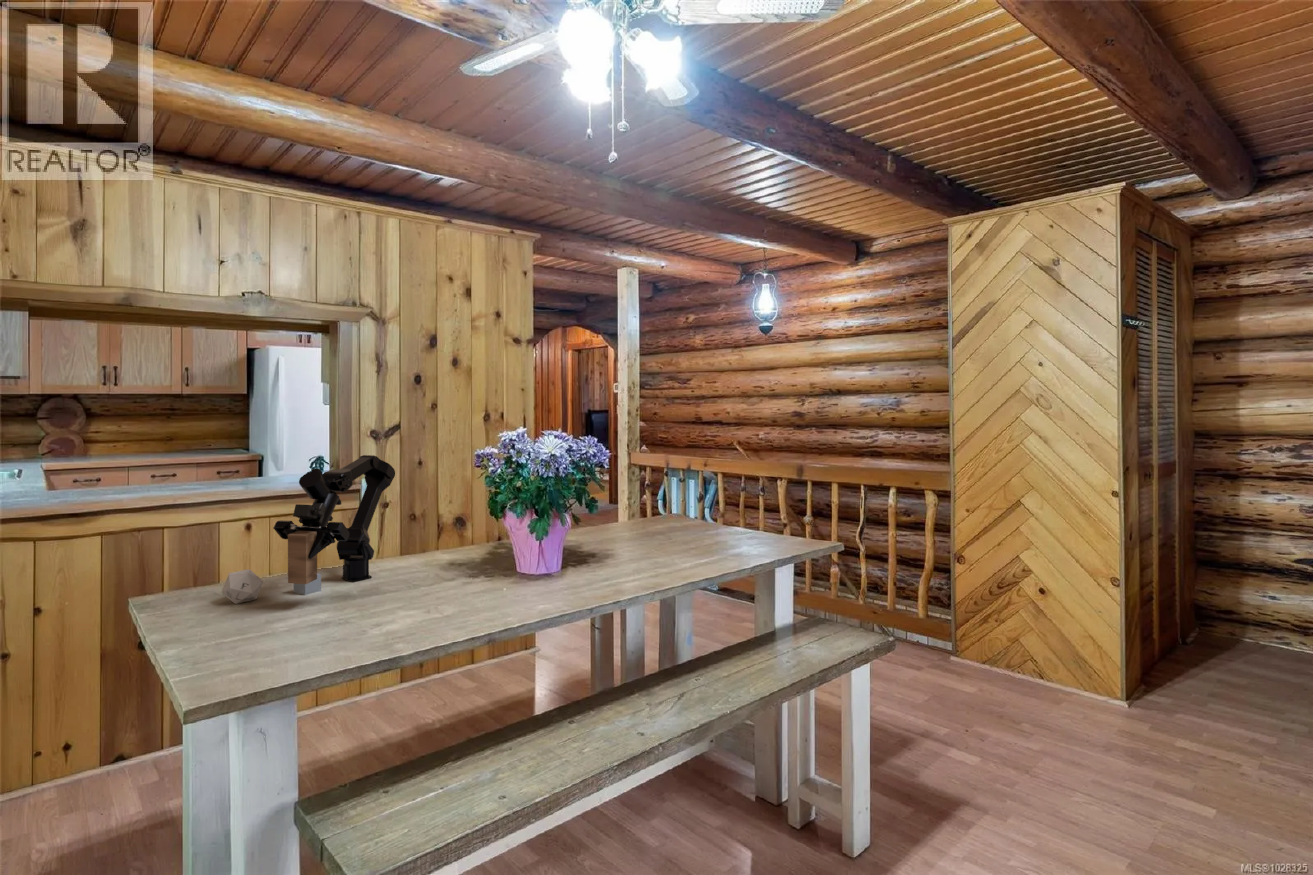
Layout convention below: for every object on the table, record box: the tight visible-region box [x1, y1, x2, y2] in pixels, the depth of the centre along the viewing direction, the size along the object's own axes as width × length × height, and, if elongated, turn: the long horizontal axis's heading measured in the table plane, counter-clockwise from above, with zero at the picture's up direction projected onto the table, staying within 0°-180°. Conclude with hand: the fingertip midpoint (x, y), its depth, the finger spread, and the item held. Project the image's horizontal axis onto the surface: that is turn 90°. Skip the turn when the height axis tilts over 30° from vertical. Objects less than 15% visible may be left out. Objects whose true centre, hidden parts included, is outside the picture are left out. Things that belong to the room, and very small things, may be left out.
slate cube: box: [293, 572, 322, 596], centre depth 191 cm, size 5×5×5 cm
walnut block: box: [287, 531, 318, 585], centre depth 177 cm, size 5×5×13 cm
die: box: [221, 568, 264, 605], centre depth 182 cm, size 8×9×10 cm
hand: (299, 557), depth 176 cm, fingers closed on walnut block, 5 cm apart
